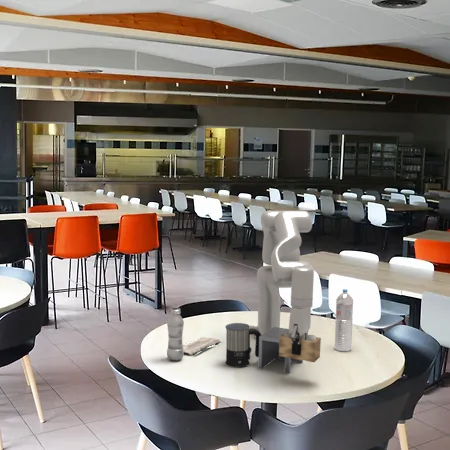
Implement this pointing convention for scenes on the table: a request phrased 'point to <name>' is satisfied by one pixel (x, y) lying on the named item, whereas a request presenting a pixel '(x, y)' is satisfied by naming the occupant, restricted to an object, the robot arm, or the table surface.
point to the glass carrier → (308, 347)
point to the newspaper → (199, 345)
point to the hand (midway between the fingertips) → (299, 351)
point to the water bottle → (343, 322)
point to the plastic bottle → (175, 335)
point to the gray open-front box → (273, 349)
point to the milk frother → (240, 344)
